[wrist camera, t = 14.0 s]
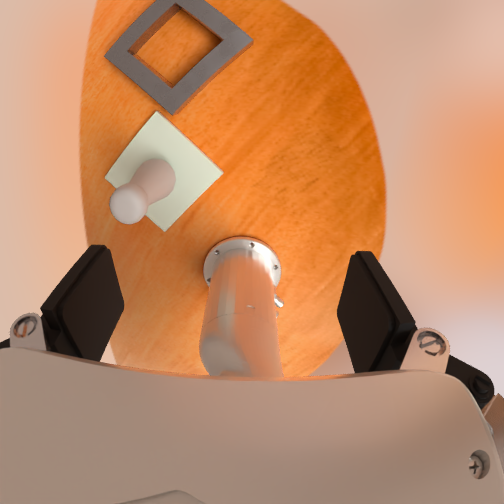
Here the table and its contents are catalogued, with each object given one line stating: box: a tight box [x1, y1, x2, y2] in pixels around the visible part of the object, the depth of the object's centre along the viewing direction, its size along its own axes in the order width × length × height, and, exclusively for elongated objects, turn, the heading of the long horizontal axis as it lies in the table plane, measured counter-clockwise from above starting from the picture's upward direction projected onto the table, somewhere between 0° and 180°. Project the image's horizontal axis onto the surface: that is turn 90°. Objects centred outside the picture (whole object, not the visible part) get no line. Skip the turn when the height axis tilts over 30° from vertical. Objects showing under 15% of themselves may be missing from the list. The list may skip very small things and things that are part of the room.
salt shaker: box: [109, 159, 176, 224], centre depth 32 cm, size 6×6×13 cm
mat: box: [105, 111, 224, 232], centre depth 38 cm, size 13×13×1 cm
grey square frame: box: [104, 0, 253, 115], centre depth 28 cm, size 14×14×3 cm
